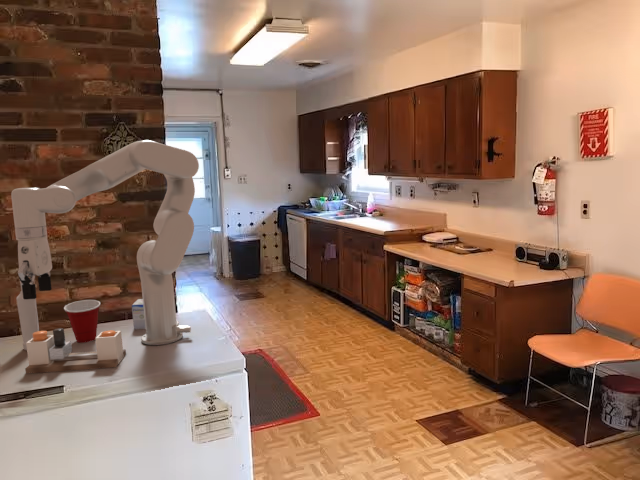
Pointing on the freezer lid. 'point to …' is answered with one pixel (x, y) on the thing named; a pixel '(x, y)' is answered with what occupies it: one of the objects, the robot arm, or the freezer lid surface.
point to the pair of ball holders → (105, 347)
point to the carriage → (60, 345)
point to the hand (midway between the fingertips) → (38, 294)
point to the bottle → (27, 317)
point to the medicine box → (138, 315)
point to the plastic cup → (83, 319)
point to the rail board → (74, 363)
